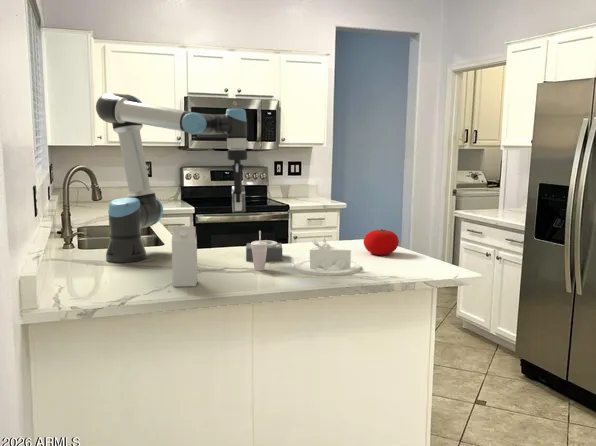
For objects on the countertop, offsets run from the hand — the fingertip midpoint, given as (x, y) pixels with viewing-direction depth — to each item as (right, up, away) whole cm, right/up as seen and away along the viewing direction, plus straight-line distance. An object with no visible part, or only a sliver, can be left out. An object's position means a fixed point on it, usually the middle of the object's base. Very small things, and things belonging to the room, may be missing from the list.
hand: (238, 209), depth 217 cm
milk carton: (-14, -25, -36) cm, 46 cm away
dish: (+34, -22, -11) cm, 42 cm away
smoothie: (+9, -22, -15) cm, 28 cm away
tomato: (+57, -18, +14) cm, 62 cm away
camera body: (+10, -19, +5) cm, 22 cm away
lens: (0, -1, 0) cm, 1 cm away
